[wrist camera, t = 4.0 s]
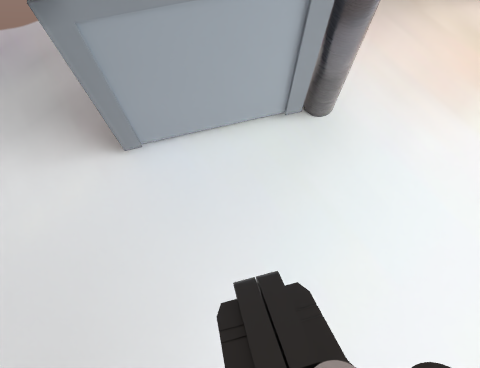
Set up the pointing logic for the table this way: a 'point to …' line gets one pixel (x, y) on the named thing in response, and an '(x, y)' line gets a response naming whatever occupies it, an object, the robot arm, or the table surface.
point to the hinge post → (338, 52)
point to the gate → (187, 59)
